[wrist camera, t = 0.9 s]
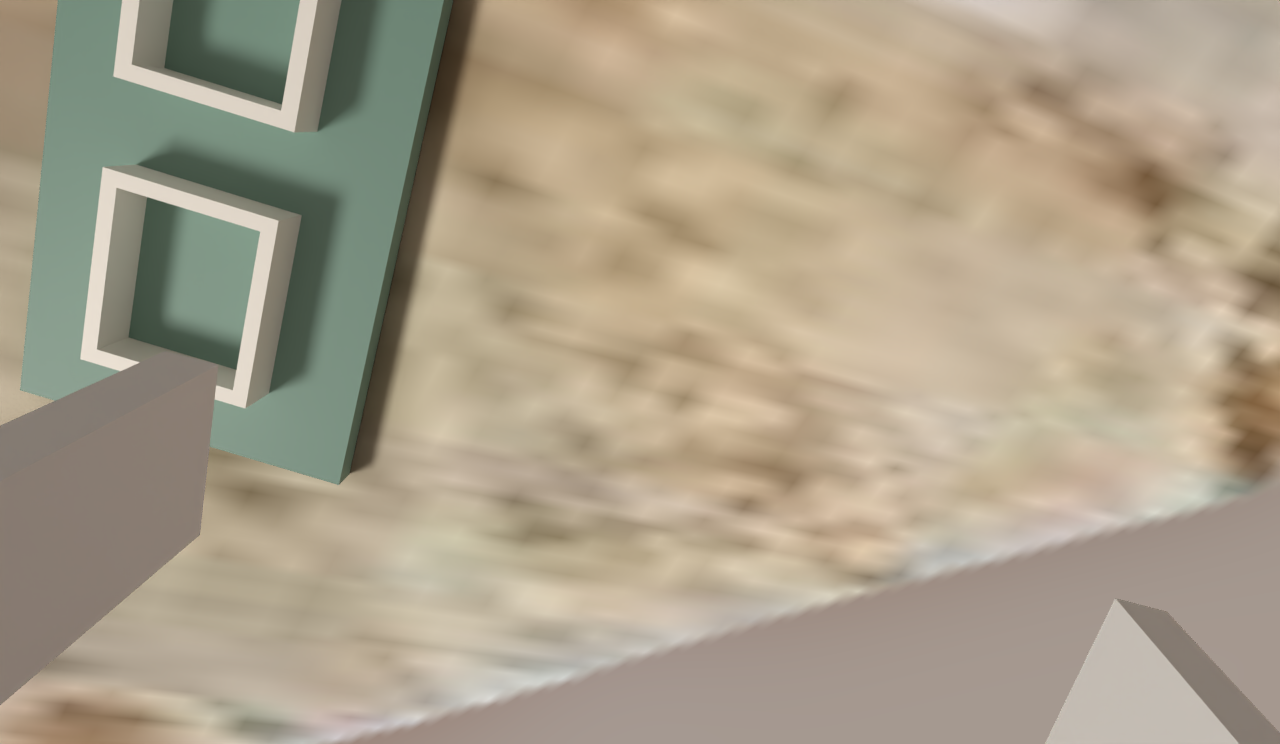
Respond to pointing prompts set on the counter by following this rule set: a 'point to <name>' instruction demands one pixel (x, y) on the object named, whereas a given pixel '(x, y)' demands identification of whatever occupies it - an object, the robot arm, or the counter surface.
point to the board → (231, 204)
